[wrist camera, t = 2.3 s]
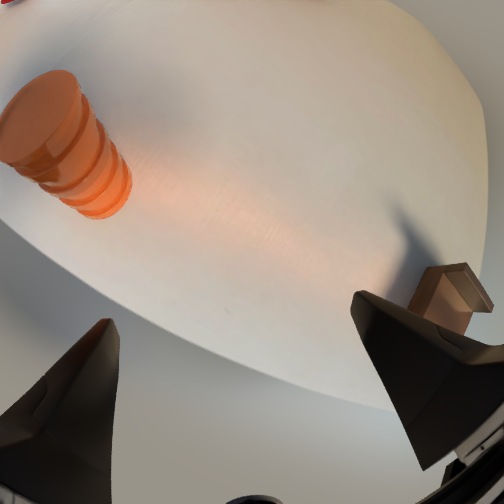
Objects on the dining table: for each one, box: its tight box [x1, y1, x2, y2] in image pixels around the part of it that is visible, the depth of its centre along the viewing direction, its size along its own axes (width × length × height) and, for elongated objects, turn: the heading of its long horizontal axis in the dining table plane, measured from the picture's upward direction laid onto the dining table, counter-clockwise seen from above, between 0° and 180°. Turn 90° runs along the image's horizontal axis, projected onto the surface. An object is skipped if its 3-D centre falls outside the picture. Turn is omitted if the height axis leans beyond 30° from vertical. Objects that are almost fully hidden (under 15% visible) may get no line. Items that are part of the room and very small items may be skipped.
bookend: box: [407, 262, 494, 336], centre depth 22 cm, size 10×8×6 cm
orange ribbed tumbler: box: [0, 70, 132, 219], centre depth 16 cm, size 6×6×13 cm
